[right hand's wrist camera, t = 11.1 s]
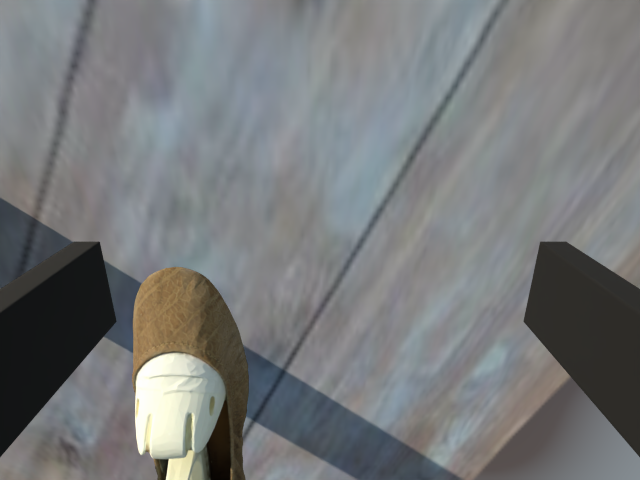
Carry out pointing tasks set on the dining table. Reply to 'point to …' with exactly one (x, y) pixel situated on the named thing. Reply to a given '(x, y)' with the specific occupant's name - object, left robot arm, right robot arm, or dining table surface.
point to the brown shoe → (188, 378)
